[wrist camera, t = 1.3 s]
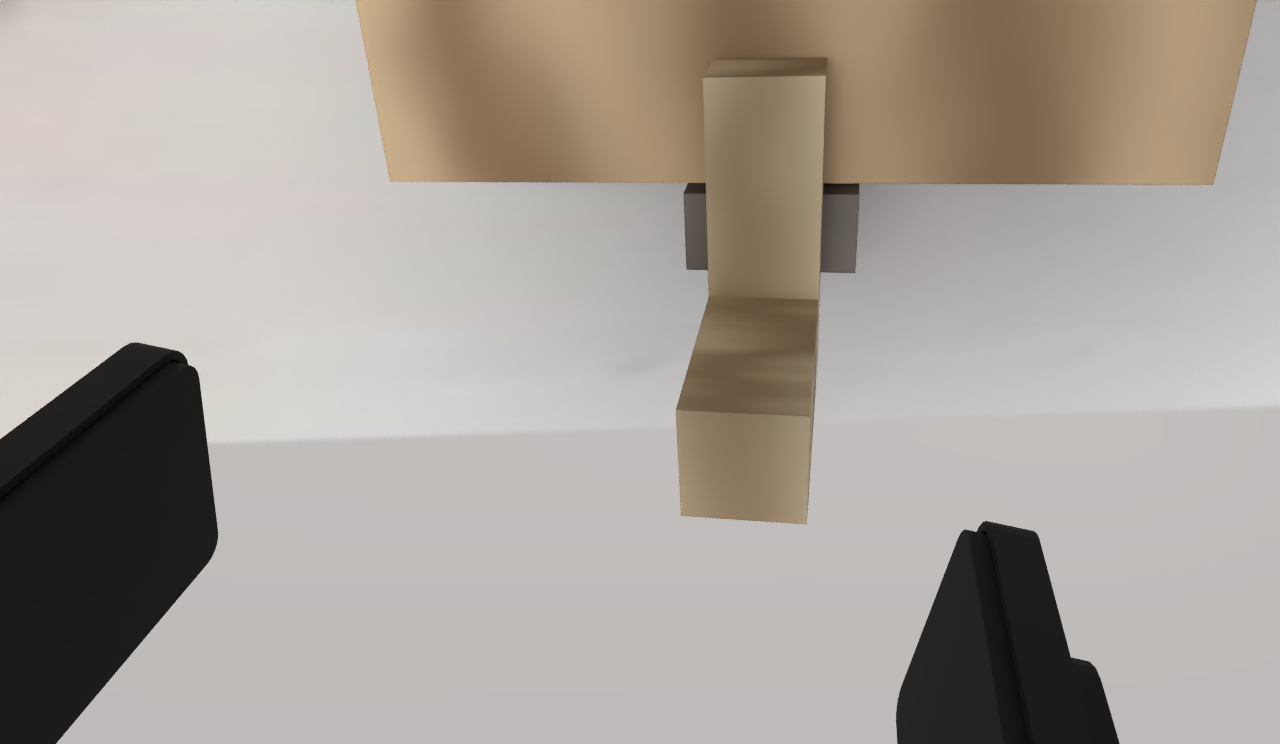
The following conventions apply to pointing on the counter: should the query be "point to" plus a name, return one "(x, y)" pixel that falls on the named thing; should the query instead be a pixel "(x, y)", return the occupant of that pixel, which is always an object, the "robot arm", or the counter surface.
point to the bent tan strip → (757, 294)
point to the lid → (855, 96)
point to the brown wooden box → (835, 227)
